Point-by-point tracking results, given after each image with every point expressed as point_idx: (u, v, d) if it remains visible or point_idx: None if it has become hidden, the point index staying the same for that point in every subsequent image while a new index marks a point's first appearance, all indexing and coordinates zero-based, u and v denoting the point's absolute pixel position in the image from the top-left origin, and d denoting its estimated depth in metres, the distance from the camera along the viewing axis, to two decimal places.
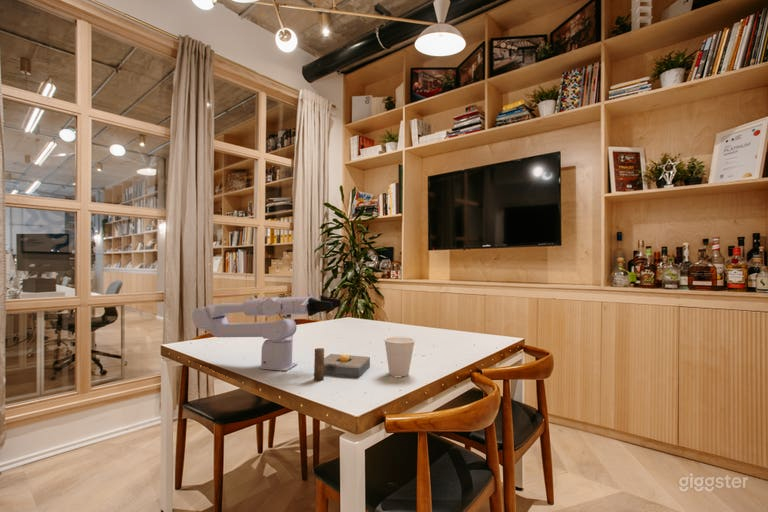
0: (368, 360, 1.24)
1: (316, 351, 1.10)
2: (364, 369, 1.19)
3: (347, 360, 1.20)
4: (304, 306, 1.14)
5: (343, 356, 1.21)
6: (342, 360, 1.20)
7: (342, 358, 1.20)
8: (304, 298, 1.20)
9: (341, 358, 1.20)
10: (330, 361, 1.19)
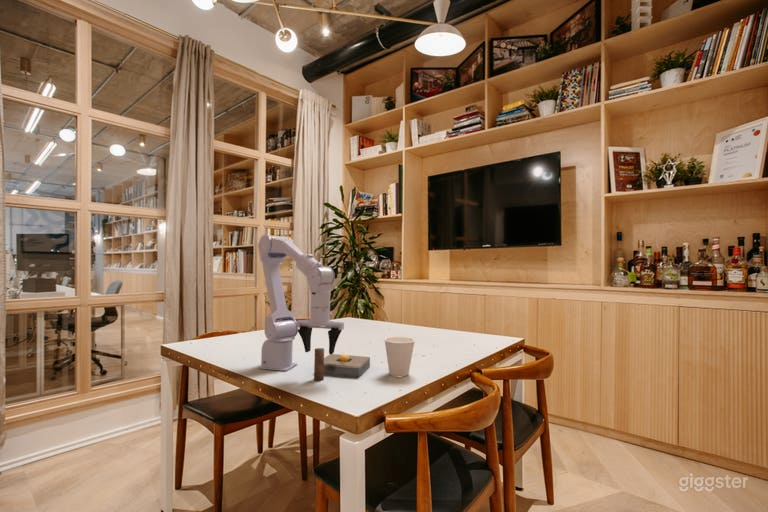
0: (368, 360, 1.24)
1: (316, 351, 1.10)
2: (364, 369, 1.19)
3: (347, 360, 1.20)
4: None
5: (343, 356, 1.21)
6: (342, 360, 1.20)
7: (342, 358, 1.20)
8: (312, 318, 1.10)
9: (341, 358, 1.20)
10: (330, 361, 1.19)
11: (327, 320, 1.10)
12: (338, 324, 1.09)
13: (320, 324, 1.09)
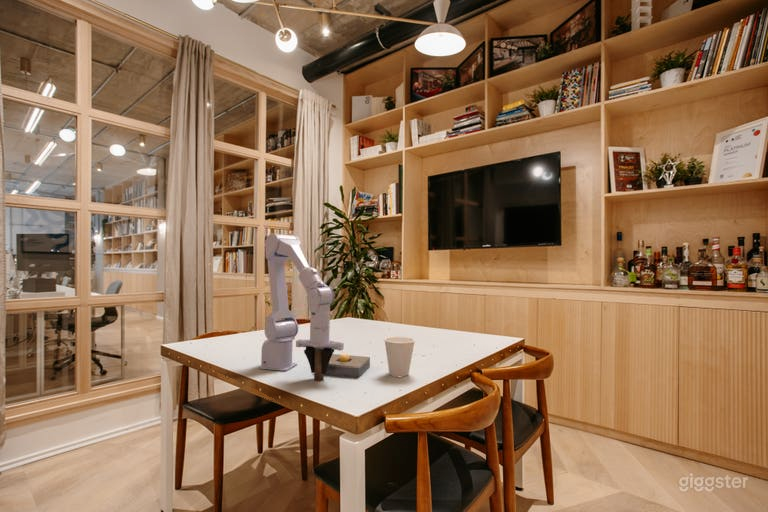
0: (368, 360, 1.24)
1: (316, 351, 1.10)
2: (364, 369, 1.19)
3: (347, 360, 1.20)
4: None
5: (343, 356, 1.21)
6: (342, 360, 1.20)
7: (342, 358, 1.20)
8: (311, 339, 1.10)
9: (341, 358, 1.20)
10: (330, 361, 1.19)
11: (327, 340, 1.10)
12: (338, 345, 1.09)
13: (319, 345, 1.09)
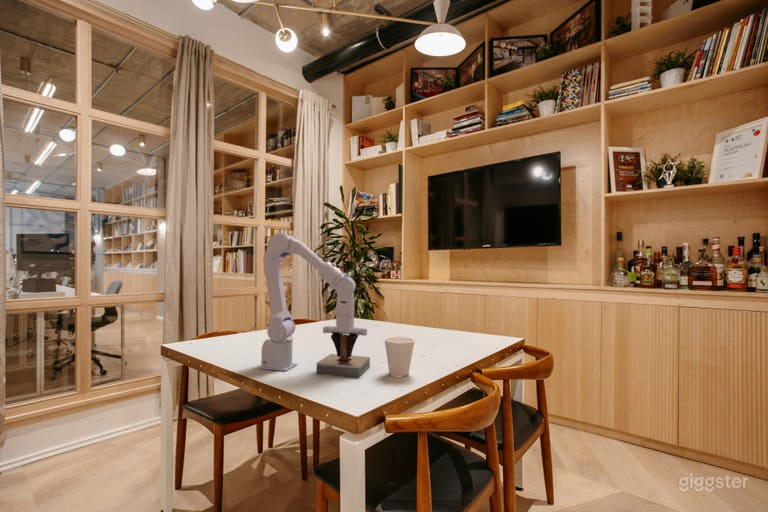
0: (368, 360, 1.24)
1: (341, 337, 1.20)
2: (364, 369, 1.19)
3: None
4: None
5: None
6: None
7: None
8: (338, 325, 1.19)
9: None
10: (330, 361, 1.19)
11: (352, 326, 1.20)
12: (362, 330, 1.19)
13: (345, 330, 1.18)
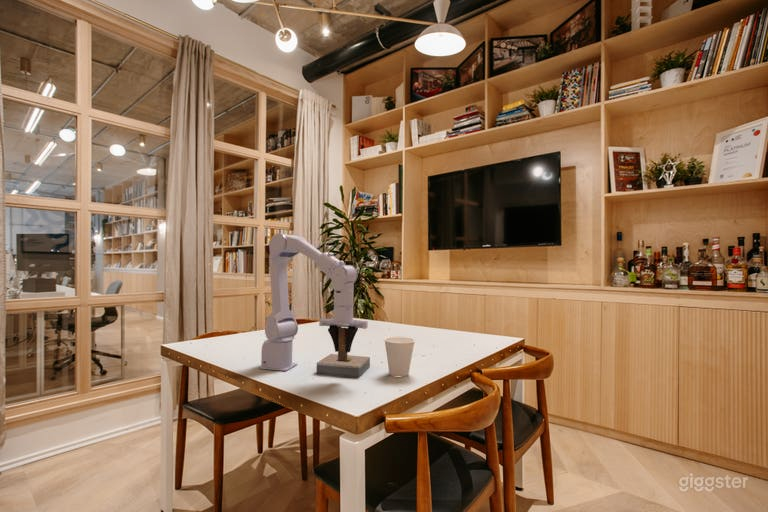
0: (368, 360, 1.24)
1: (340, 330, 1.10)
2: (364, 369, 1.19)
3: None
4: None
5: None
6: None
7: None
8: (335, 317, 1.09)
9: None
10: (330, 361, 1.19)
11: (351, 319, 1.10)
12: (362, 323, 1.08)
13: (344, 323, 1.08)
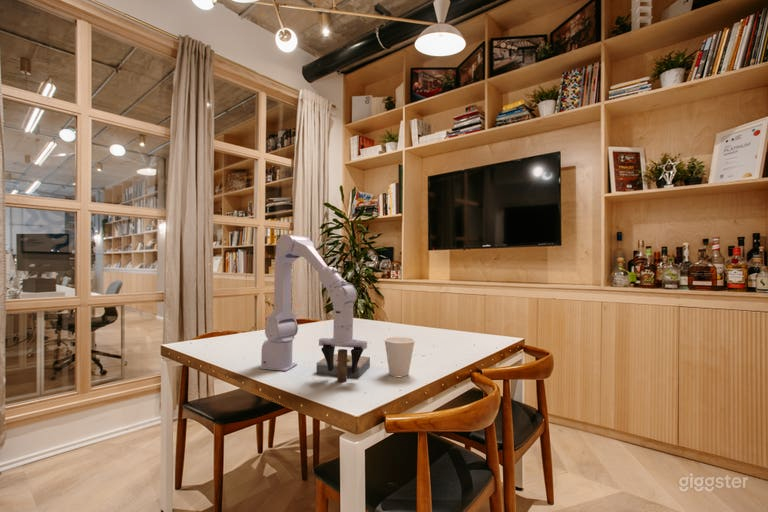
0: (368, 360, 1.24)
1: (339, 352, 1.10)
2: (364, 369, 1.19)
3: None
4: None
5: None
6: None
7: None
8: (335, 337, 1.09)
9: None
10: None
11: (350, 339, 1.09)
12: (361, 343, 1.08)
13: (343, 343, 1.08)
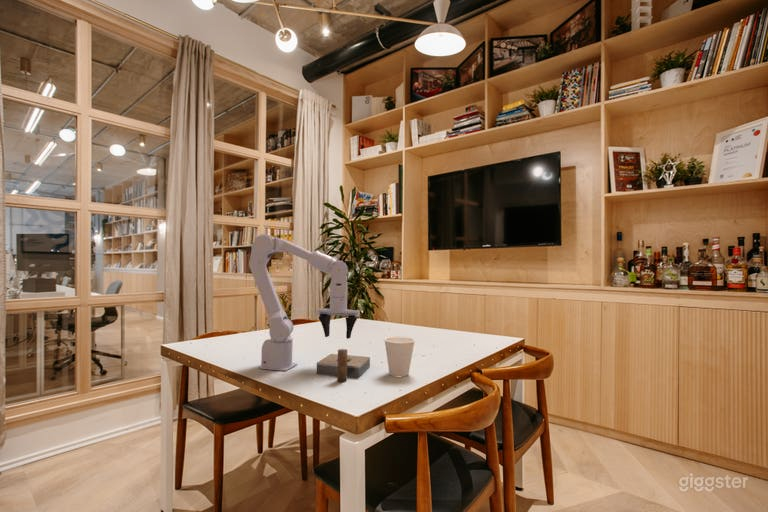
0: (368, 360, 1.24)
1: (339, 352, 1.10)
2: (364, 369, 1.19)
3: None
4: None
5: None
6: None
7: None
8: (331, 307, 1.23)
9: None
10: (330, 361, 1.19)
11: (345, 308, 1.24)
12: (354, 312, 1.23)
13: (339, 312, 1.22)
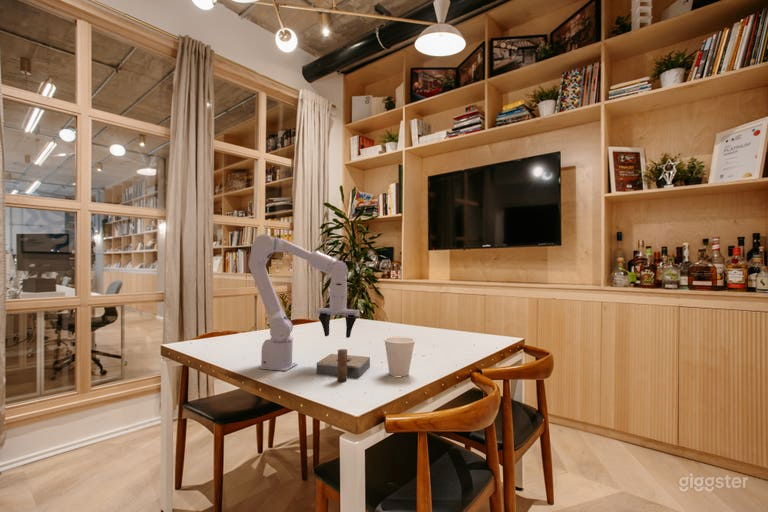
0: (368, 360, 1.24)
1: (339, 352, 1.10)
2: (364, 369, 1.19)
3: None
4: None
5: None
6: None
7: None
8: (331, 306, 1.24)
9: None
10: (330, 361, 1.19)
11: (344, 308, 1.25)
12: (354, 311, 1.24)
13: (338, 311, 1.23)
